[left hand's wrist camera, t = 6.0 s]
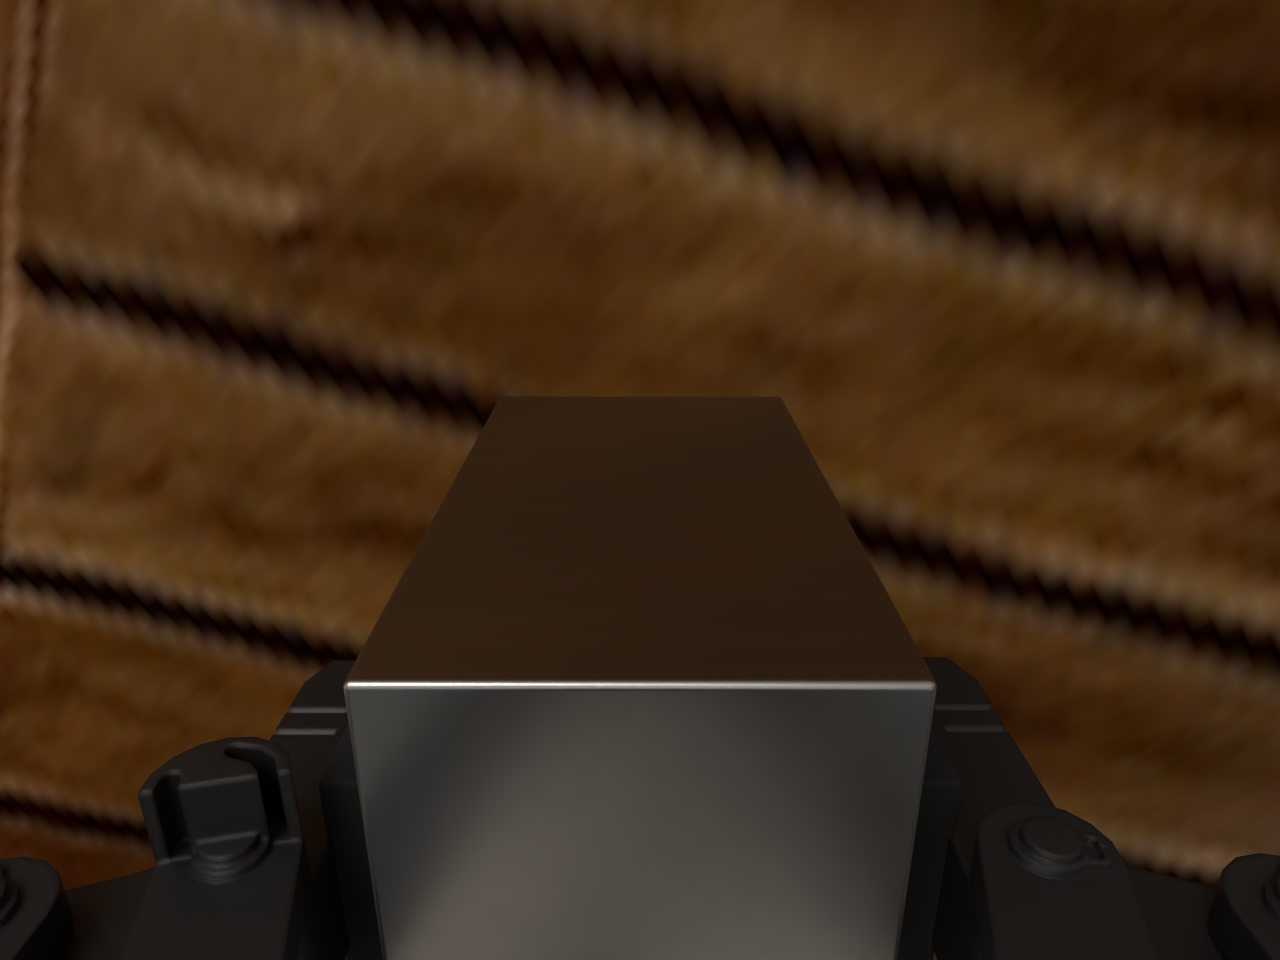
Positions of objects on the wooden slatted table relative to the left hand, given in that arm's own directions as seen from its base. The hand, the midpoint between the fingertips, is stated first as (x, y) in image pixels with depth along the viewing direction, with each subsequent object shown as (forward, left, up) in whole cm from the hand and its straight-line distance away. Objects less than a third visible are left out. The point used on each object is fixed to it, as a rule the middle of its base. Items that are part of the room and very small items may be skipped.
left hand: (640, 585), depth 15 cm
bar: (-2, +9, -1) cm, 10 cm away
